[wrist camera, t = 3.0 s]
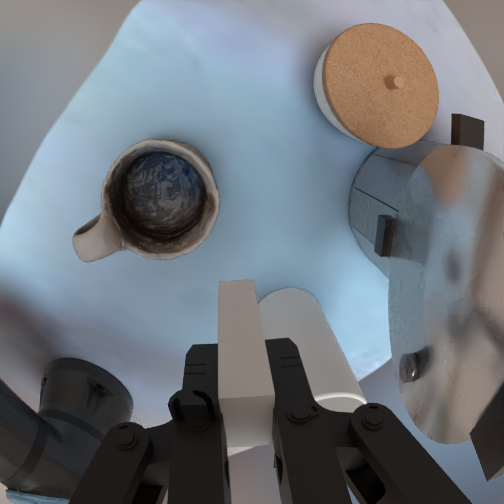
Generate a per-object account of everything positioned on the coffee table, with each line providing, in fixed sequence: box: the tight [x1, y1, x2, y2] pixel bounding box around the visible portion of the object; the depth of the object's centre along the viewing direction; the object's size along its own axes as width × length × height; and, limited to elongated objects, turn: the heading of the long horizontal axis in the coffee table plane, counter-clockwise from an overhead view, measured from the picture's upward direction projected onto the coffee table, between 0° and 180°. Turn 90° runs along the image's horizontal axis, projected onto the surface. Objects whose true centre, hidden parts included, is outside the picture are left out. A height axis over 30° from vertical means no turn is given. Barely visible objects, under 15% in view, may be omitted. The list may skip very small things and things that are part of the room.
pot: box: [349, 114, 484, 279], centre depth 27 cm, size 16×21×10 cm
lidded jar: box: [314, 23, 439, 149], centre depth 22 cm, size 11×11×9 cm
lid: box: [388, 145, 504, 481], centre depth 13 cm, size 17×15×2 cm
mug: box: [72, 139, 220, 262], centre depth 24 cm, size 10×12×10 cm
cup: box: [258, 288, 367, 413], centre depth 28 cm, size 8×8×16 cm
